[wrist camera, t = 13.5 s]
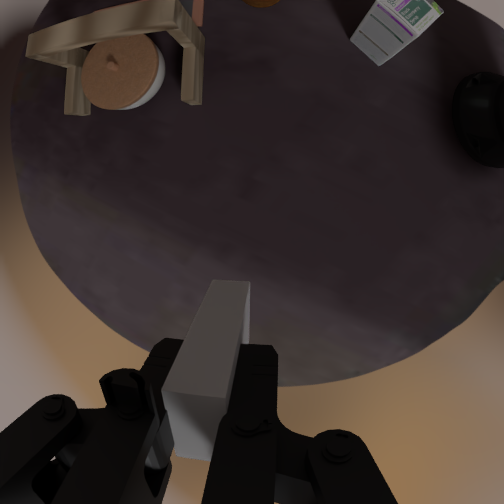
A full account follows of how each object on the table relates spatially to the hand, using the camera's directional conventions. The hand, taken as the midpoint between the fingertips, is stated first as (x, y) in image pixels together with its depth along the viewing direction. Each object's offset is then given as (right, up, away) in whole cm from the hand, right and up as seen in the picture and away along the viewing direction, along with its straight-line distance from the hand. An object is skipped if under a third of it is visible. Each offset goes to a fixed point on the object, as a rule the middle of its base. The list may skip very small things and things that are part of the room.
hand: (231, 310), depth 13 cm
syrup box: (+18, +32, +22) cm, 43 cm away
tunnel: (-15, +27, +26) cm, 41 cm away
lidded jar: (-15, +27, +26) cm, 40 cm away
